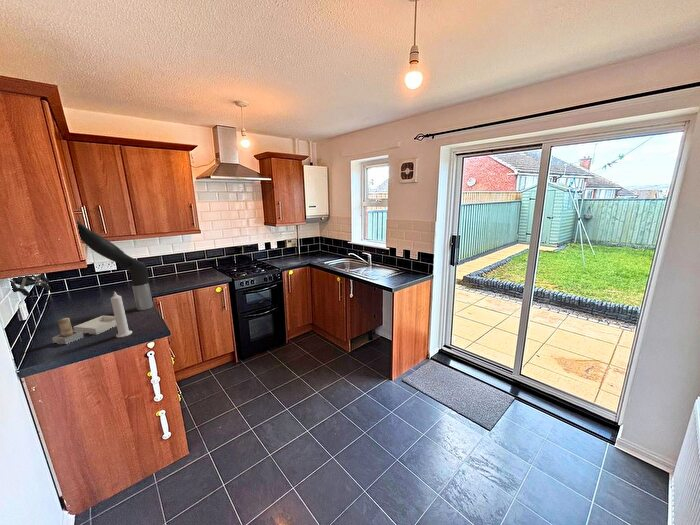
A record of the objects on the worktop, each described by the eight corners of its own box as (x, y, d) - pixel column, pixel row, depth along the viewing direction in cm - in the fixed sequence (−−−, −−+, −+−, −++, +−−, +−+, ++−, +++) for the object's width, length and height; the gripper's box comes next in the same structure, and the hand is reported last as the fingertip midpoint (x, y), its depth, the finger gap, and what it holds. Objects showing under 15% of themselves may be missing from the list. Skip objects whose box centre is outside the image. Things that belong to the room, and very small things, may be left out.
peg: (66, 339, 153) (60, 318, 150) (76, 337, 154) (71, 317, 152) (61, 343, 149) (55, 322, 146) (72, 341, 150) (66, 320, 148)
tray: (104, 320, 176) (102, 315, 175) (124, 322, 173) (123, 316, 172) (74, 332, 161) (73, 326, 160) (96, 334, 157) (95, 328, 157)
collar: (72, 336, 156) (70, 330, 156) (83, 337, 155) (82, 331, 154) (53, 343, 148) (52, 337, 148) (66, 344, 147) (64, 338, 146)
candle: (135, 331, 160) (126, 289, 154) (126, 337, 153) (116, 293, 147) (122, 331, 160) (112, 289, 154) (112, 337, 153) (102, 294, 147)
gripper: (-1, 269, 140) (23, 292, 140) (36, 263, 153) (57, 283, 154) (-5, 279, 142) (19, 302, 142) (31, 272, 156) (52, 292, 156)
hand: (39, 292), depth 148 cm, fingers open, 8 cm apart
